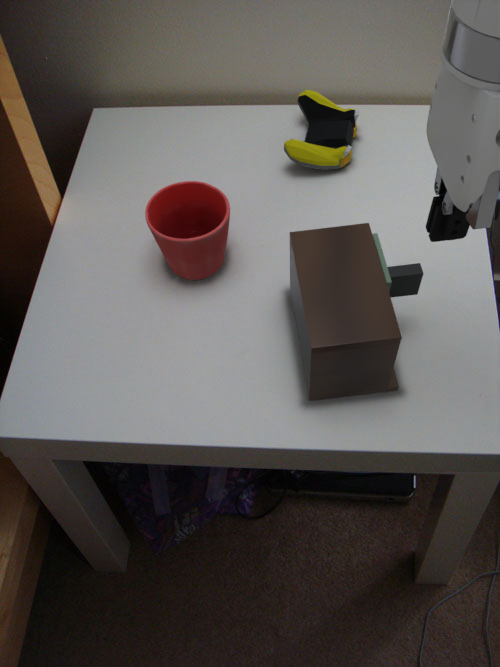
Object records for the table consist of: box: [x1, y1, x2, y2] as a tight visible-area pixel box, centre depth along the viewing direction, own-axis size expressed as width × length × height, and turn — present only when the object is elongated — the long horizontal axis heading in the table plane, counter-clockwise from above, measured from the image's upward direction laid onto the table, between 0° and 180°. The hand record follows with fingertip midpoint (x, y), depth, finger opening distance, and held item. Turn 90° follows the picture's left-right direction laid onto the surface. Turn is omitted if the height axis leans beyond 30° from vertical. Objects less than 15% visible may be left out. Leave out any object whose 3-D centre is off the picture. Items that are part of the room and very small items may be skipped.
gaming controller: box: [283, 89, 360, 171], centre depth 93 cm, size 15×6×10 cm
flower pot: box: [144, 180, 231, 281], centre depth 80 cm, size 11×11×10 cm
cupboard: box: [289, 222, 403, 402], centre depth 70 cm, size 11×16×12 cm, turn 6°
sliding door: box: [372, 232, 424, 299], centre depth 72 cm, size 5×7×9 cm, turn 6°
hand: (445, 233), depth 53 cm, fingers closed
